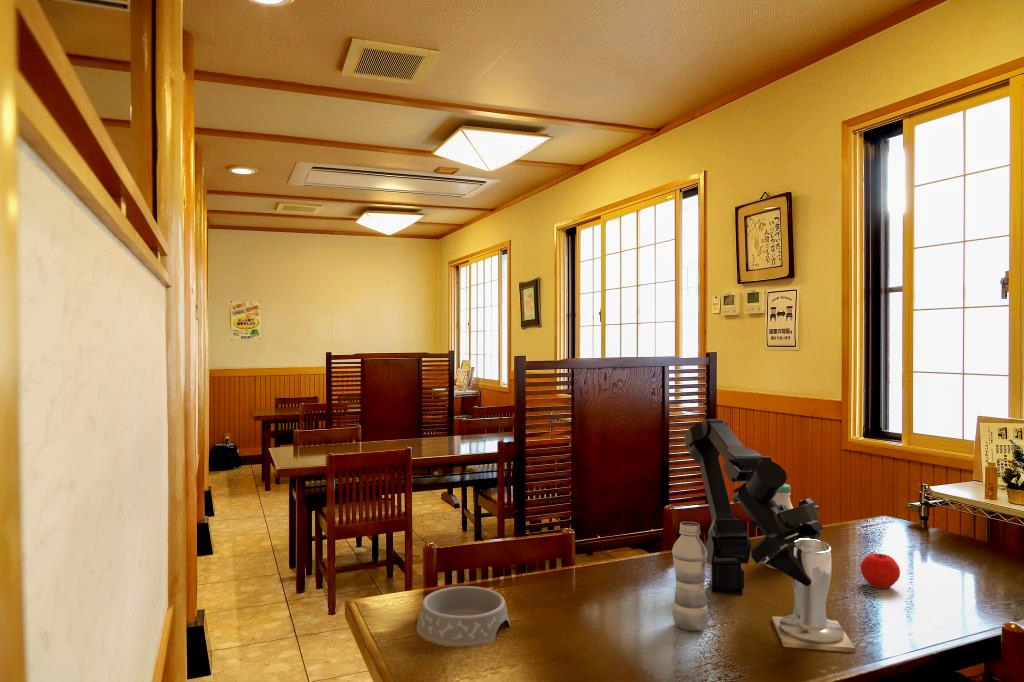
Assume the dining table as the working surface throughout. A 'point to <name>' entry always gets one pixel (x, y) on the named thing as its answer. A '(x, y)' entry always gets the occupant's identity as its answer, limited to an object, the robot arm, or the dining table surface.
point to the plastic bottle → (690, 579)
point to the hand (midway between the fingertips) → (818, 580)
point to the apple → (880, 570)
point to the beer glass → (812, 583)
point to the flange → (812, 632)
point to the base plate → (791, 642)
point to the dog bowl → (462, 616)
